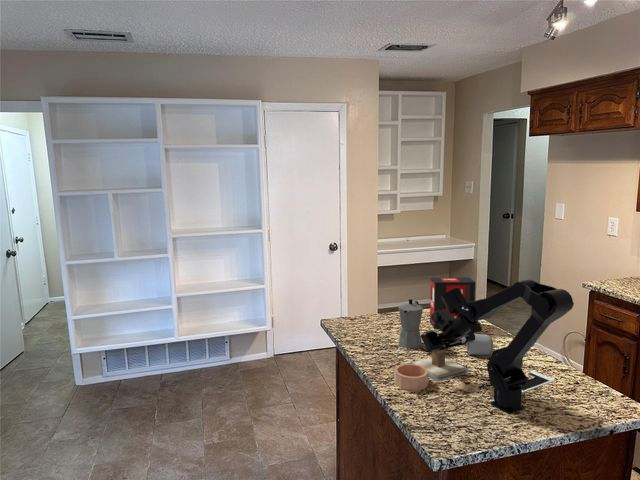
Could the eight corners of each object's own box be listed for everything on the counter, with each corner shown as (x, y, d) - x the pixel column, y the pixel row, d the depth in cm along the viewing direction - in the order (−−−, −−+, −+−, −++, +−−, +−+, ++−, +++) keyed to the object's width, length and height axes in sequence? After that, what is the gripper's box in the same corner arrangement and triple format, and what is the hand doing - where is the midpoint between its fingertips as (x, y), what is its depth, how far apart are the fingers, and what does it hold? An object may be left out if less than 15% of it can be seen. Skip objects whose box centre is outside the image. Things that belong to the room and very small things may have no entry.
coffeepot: (416, 353, 162) (417, 305, 160) (392, 349, 167) (392, 302, 165) (428, 339, 176) (429, 295, 173) (405, 336, 180) (406, 292, 178)
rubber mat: (471, 372, 146) (471, 370, 146) (437, 383, 139) (437, 381, 139) (439, 356, 159) (439, 355, 159) (406, 365, 152) (406, 364, 152)
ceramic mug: (493, 359, 156) (494, 337, 155) (469, 358, 157) (469, 337, 156) (487, 348, 167) (487, 328, 166) (464, 347, 168) (464, 327, 167)
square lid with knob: (465, 370, 146) (465, 339, 145) (437, 378, 141) (438, 346, 139) (438, 357, 157) (439, 328, 155) (412, 365, 151) (412, 335, 150)
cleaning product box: (467, 322, 196) (469, 277, 193) (473, 328, 187) (475, 282, 185) (429, 322, 197) (430, 277, 194) (434, 329, 188) (435, 282, 185)
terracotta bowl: (434, 386, 136) (435, 372, 136) (409, 395, 132) (409, 380, 131) (413, 374, 145) (413, 361, 144) (388, 381, 140) (388, 368, 140)
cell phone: (555, 381, 139) (555, 379, 139) (521, 394, 132) (521, 392, 132) (532, 372, 146) (533, 370, 146) (499, 384, 138) (499, 382, 138)
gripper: (469, 299, 146) (445, 323, 158) (424, 308, 138) (402, 332, 149) (487, 330, 141) (461, 351, 152) (442, 340, 132) (417, 362, 143)
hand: (435, 348), depth 149 cm, fingers closed on square lid with knob, 3 cm apart
